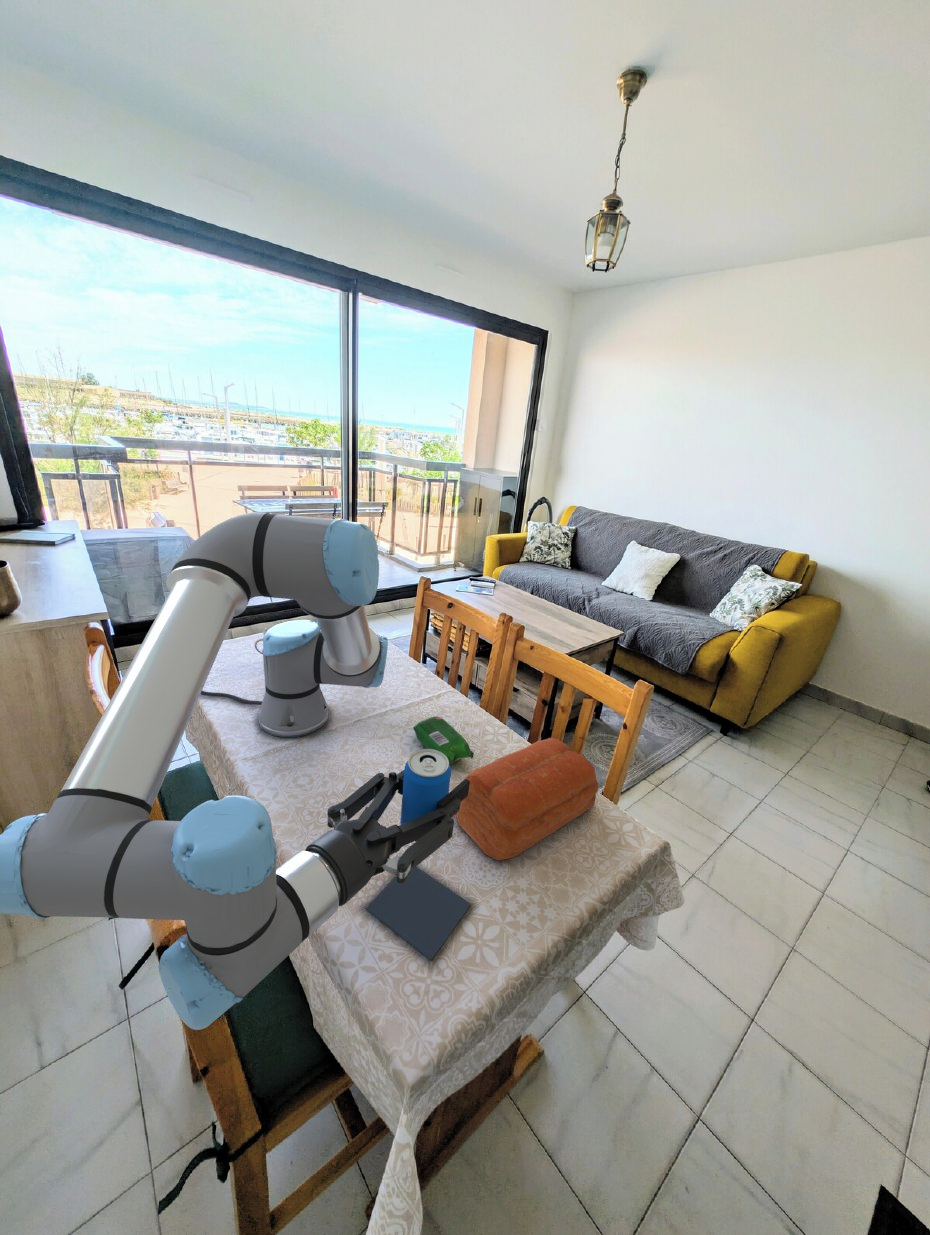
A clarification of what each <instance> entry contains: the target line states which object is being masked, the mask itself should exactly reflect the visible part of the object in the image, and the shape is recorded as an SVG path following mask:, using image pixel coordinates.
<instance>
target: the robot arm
mask: <svg viewBox="0 0 930 1235" xmlns="http://www.w3.org/2000/svg"><path fill="white" fill-rule="evenodd" d="M379 577H380V561H379V547H378V542H377V539H376V535H375V534H374V531H373V530H372V529H371V528H370V527H369V526H368V525H367V524H365V523H361V522H355V521H350V520H348V519H344V518H338V519H337V518H336V519H335V518H325V517H324V518H322V517H313V516H312V517H311V516H300V515H288V514H280V513H279V514H278V513H277V514H275V513H271V512H262V511H261V512H260V511H259V512H256V511H255V512H247V513H243V514H238V515H236V516H233V517H230V518H227V519H225V520H224V521H222V522H220V523H218V524H216V525H215V526H213V527H211V528H210V529H209V530H206V531H205V532H204V533H203V534H201V535H200V536H199V537H198V538H196V539H195V540H194V541H193V543H191V544H190V545H189V546H188V547H187V548H186V549H185V550H184V552H182V554H181V555H180V556H179V557H178V558H177V560H176V562H175V563H174V565H173V566H172V569H171V570H170V572H169V574H168V575H167V577H166V581H165V585H166V588H167V591H168V594H167V597H166V598H165V600H164V601H163V603H162V606H161V608H160V610H159V611H158V613H157V615H156V617H155V619H154V621H153V623H152V624H151V626H150V628H149V630H148V632H147V633H146V635H145V637H144V639H143V641H142V642H141V644H140V646H139V648H138V650H137V652H136V653H135V655H134V657H133V659H132V660H131V663H130V665H129V666H128V667H127V670H126V672H125V674H124V675H123V677H122V679H121V681H120V683H119V684H118V686H117V687H116V690H115V691H114V694H113V695H112V697H111V699H110V701H109V703H108V704H107V706H106V708H105V710H104V712H103V713H102V715H101V718H100V719H99V721H98V723H97V724H96V727H95V728H94V730H93V731H92V734H91V736H90V738H89V739H88V741H87V743H86V745H85V746H84V748H83V750H82V751H81V754H80V755H79V757H78V759H77V761H76V763H75V764H74V767H73V768H72V770H71V771H70V774H69V776H68V778H67V779H66V781H65V782H64V785H63V786H62V788H61V790H60V792H59V793H58V795H57V797H56V798H55V800H54V802H53V804H52V805H51V807H50V809H49V811H48V813H45V812H41V813H39V814H32V815H25V816H22V817H20V818H18V819H16V820H14V821H12V822H11V823H10V824H8V825H7V826H6V827H5V829H4V830H3V832H2V833H1V834H0V914H4V915H5V914H6V915H19V916H30V917H33V919H34V918H35V919H40V920H44V919H47V918H52V917H61V918H62V917H67V918H111V919H112V918H115V919H130V920H131V919H133V920H159V921H160V920H161V921H163V920H164V921H183V922H184V924H185V931H186V934H185V933H184V934H183V935H181V936H179V938H178V939H177V940H176V941H174V942H173V944H171V945H170V946H169V947H168V948H167V949H166V950H164V952H163V953H162V955H161V956H160V959H159V962H160V964H159V963H158V972H159V977H160V980H161V983H162V986H163V988H164V991H165V993H166V995H167V998H168V1000H169V1002H170V1003H171V1005H172V1007H173V1009H174V1010H175V1013H176V1014H177V1015H178V1017H179V1018H180V1019H181V1021H182V1022H183V1023H184V1024H185V1025H186V1026H187V1027H188V1028H190V1029H191V1030H195V1031H200V1030H203V1029H206V1028H208V1027H209V1026H211V1025H212V1023H214V1022H215V1021H216V1020H218V1018H220V1017H221V1016H222V1015H224V1014H225V1013H226V1012H227V1011H228V1010H229V1009H230V1008H232V1007H233V1006H234V1005H235V1004H237V1003H238V1004H239V1003H240V1002H241V1001H243V999H244V998H245V997H246V996H247V995H248V994H249V993H250V992H251V991H252V990H253V989H254V988H255V987H256V986H258V984H260V982H262V981H263V980H264V979H265V978H266V977H267V976H268V975H269V974H270V973H271V972H273V971H274V970H275V968H277V967H278V966H279V965H280V964H281V963H282V962H283V961H284V960H285V959H286V958H288V957H289V956H290V955H291V954H292V953H293V952H294V951H295V950H296V949H297V948H298V947H299V946H300V945H301V944H302V943H303V942H304V941H305V940H307V939H308V938H309V937H310V936H311V935H312V934H313V933H314V932H316V930H318V929H319V928H320V927H321V926H322V925H323V924H324V923H325V922H327V921H328V920H329V919H330V918H331V917H332V916H333V915H334V914H335V913H336V912H337V911H338V909H339V907H342V906H344V905H346V904H347V903H348V902H349V901H350V900H351V899H353V897H355V896H356V895H357V894H358V893H359V892H360V891H361V890H362V889H363V888H364V887H365V886H367V884H368V883H369V881H370V880H371V879H372V878H373V877H375V876H377V875H380V874H383V873H384V872H387V873H389V874H392V875H394V876H396V880H397V882H398V883H404V882H405V881H406V880H407V878H408V876H409V875H410V873H411V871H412V870H413V869H414V868H415V867H417V866H419V865H420V864H422V863H423V862H424V861H425V860H426V859H427V858H429V857H430V856H431V855H432V854H434V853H435V852H436V851H437V850H439V849H440V848H441V847H443V845H445V844H446V843H447V842H448V841H449V840H451V839H452V838H453V835H454V828H455V827H454V826H455V820H454V819H453V817H454V816H455V815H457V812H458V811H459V809H460V804H461V802H462V801H463V800H464V799H465V798H466V797H467V796H468V792H469V785H470V781H469V780H468V779H466V778H465V779H463V780H462V781H460V783H459V784H457V785H456V786H455V787H454V788H453V789H451V791H449V793H448V794H447V795H446V796H445V797H444V798H443V799H441V800H440V801H439V802H438V804H437V810H435V811H432V812H430V813H428V814H425V815H423V816H421V817H418V818H416V819H414V820H411V821H409V822H406V823H404V824H402V825H400V824H399V825H398V824H393V825H391V826H388V827H387V826H384V825H383V824H380V822H379V820H380V819H381V817H382V816H383V814H384V812H385V811H386V809H387V808H388V806H389V804H390V803H391V801H392V800H393V799H394V798H395V795H396V793H398V794H399V795H401V796H402V794H403V780H404V769H402V770H400V772H398V773H396V772H395V771H390V772H389V773H388V776H385V773H383V772H378V773H376V774H375V775H374V776H372V777H371V778H370V779H369V780H367V781H366V782H365V783H364V784H363V785H361V786H360V787H359V788H357V789H356V790H355V791H354V792H353V793H351V794H350V795H349V796H347V797H346V798H345V799H344V800H342V801H341V802H338V803H336V804H334V805H332V806H330V807H328V808H327V812H326V813H327V827H328V828H331V829H329V830H327V831H326V832H325V833H323V834H322V835H321V836H319V837H318V838H316V839H315V840H314V841H312V842H311V843H310V844H308V845H307V846H306V848H305V850H300V851H298V852H297V853H296V854H294V855H293V856H292V857H290V858H289V859H288V860H286V861H285V862H284V863H282V864H281V865H279V866H278V867H277V854H278V853H277V852H278V851H277V849H276V848H277V847H276V846H277V843H276V841H275V838H274V832H273V826H272V820H271V819H272V818H271V816H270V814H269V811H268V809H267V808H266V807H265V806H264V805H263V804H262V803H261V802H259V801H258V800H256V799H254V798H252V797H250V796H249V797H248V796H244V795H234V794H233V795H226V796H224V798H222V799H218V800H214V799H210V800H207V801H205V802H203V803H201V804H199V805H197V806H195V808H193V809H192V810H191V809H190V811H189V812H188V813H186V815H185V816H183V818H182V819H181V820H159V819H149V818H150V815H151V813H152V811H153V806H154V804H155V803H156V802H155V801H156V800H157V798H158V794H159V792H160V790H161V787H162V785H163V783H164V780H165V779H166V776H167V773H168V771H169V769H170V766H171V764H172V762H173V759H174V757H175V754H176V753H177V750H178V748H179V745H180V743H181V740H182V738H183V736H184V734H185V731H186V728H187V726H188V724H189V722H190V720H191V717H192V715H193V712H194V710H195V708H196V706H197V703H198V702H199V698H200V696H207V697H217V698H219V697H221V698H226V699H227V698H228V699H231V700H234V701H236V702H239V703H241V704H246V705H255V706H260V707H259V708H258V709H259V710H258V713H257V714H258V715H257V720H258V726H259V728H260V729H261V730H262V731H263V732H264V733H267V734H268V735H271V736H274V737H279V738H297V737H301V736H306V735H309V734H312V733H314V732H316V731H318V730H320V728H322V727H323V726H324V725H325V724H326V722H327V721H328V719H329V707H328V704H327V702H326V698H325V696H324V693H323V692H322V689H321V685H331V686H332V685H333V686H347V687H358V688H359V687H360V688H365V689H369V688H378V687H380V686H381V685H382V684H383V681H384V677H385V670H386V663H387V657H388V649H389V648H388V646H389V643H388V642H389V640H388V639H389V638H387V636H385V635H381V634H377V633H376V632H375V631H374V630H373V629H372V628H370V626H369V621H368V616H367V611H366V605H369V604H370V603H372V602H373V601H374V599H375V597H376V594H377V591H378V586H379ZM256 597H263V598H273V599H284V600H294V601H295V602H296V603H297V605H298V606H299V608H300V609H301V610H302V611H303V612H305V613H306V614H307V615H309V616H311V617H313V618H314V619H315V621H316V622H315V621H313V620H309V619H295V620H289V621H284V622H281V623H277V624H278V625H277V624H274V625H275V626H273V627H272V628H270V629H269V630H268V631H267V632H266V633H265V635H264V634H263V638H262V639H263V641H262V650H261V652H262V654H263V655H262V654H261V655H262V659H263V660H262V661H263V674H264V676H263V677H264V695H263V698H262V700H250V699H246V698H242V697H239V696H236V695H234V694H230V693H224V692H214V691H212V692H211V691H206V690H203V689H204V686H205V685H206V682H207V680H208V677H209V675H210V673H211V670H212V668H213V665H214V663H215V661H216V659H217V656H218V653H219V651H220V650H221V647H222V644H223V642H224V641H225V638H226V635H227V632H228V630H229V628H230V626H231V623H232V621H233V619H234V617H238V616H239V615H241V614H243V613H244V612H245V610H246V608H247V607H248V604H249V602H250V600H251V599H254V598H256ZM368 804H369V805H368ZM367 805H368V806H367ZM361 810H363V811H362V812H361V814H360V815H359V817H358V818H357V819H352V818H353V817H354V816H356V815H357V814H358V813H359V812H360V811H361ZM350 819H351V820H350ZM418 839H419V840H418ZM416 840H418V841H416ZM409 844H410V845H409ZM407 845H409V847H407V848H406V849H405V850H404V852H399V851H401V849H402V848H403V847H406V846H407ZM398 852H399V853H398ZM396 853H398V854H397V855H396V856H395V857H394V858H390V856H392V855H394V854H396ZM169 988H170V989H169Z"/></svg>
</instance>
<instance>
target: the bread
mask: <svg viewBox="0 0 930 1235" xmlns="http://www.w3.org/2000/svg"><path fill="white" fill-rule="evenodd" d="M465 779H468V780H469V781H470V785H469V792H468V796H467V797H466V798H465V799H464V800H463V801H462V802H461V804H460V809H459V811H458V812H457V813H456V818H457V823H458V824H457V825H459V826H460V827H461V829H462V830H463V831H464V832H465V833H466V834H467V835H468V836H469V837H470V839H471V840H472V841H473V842H474V843H475V844H476V845H477V847H478V848H480V850H482V852H483V853H484V855H486V856H488V857H490V858H492V859H494V860H496V861H497V862H498V861H503V860H508V859H512V858H515V857H517V856H519V855H520V854H522V853H523V852H525V851H526V850H528V849H530V848H531V847H533V846H535V845H536V844H538V843H539V842H541V841H542V840H544V839H545V838H547V837H549V836H550V835H552V834H553V833H555V832H557V831H559V829H561V828H563V827H564V826H565V825H567V824H569V823H570V822H572V821H573V820H575V819H577V817H580V816H581V815H583V814H584V813H585V812H587V811H588V810H589V809H591V808H592V807H593V806H594V805H595V802H596V799H597V798H596V797H597V796H596V795H597V793H599V782H598V780H597V774H596V770H595V766H594V765H593V764H592V763H591V762H589V760H588V759H587V758H586V757H585V756H584V755H582V754H580V753H578V752H576V751H574V750H572V749H571V747H570V746H568V745H567V744H566V743H564V742H563V741H562V740H560V739H559V738H555V737H548V738H545V739H541V740H537V741H535V742H533V743H531V744H530V745H528V746H526V747H523V748H521V749H519V750H517V751H515V752H511V753H509V754H506V755H503V756H502V757H499V758H497V759H496V760H494V761H492V762H491V763H489V764H488V763H487V764H486V765H482V766H481V767H478V768H476V769H473V771H471V772H469V773H468V774H467V775H466V777H465Z"/></svg>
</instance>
